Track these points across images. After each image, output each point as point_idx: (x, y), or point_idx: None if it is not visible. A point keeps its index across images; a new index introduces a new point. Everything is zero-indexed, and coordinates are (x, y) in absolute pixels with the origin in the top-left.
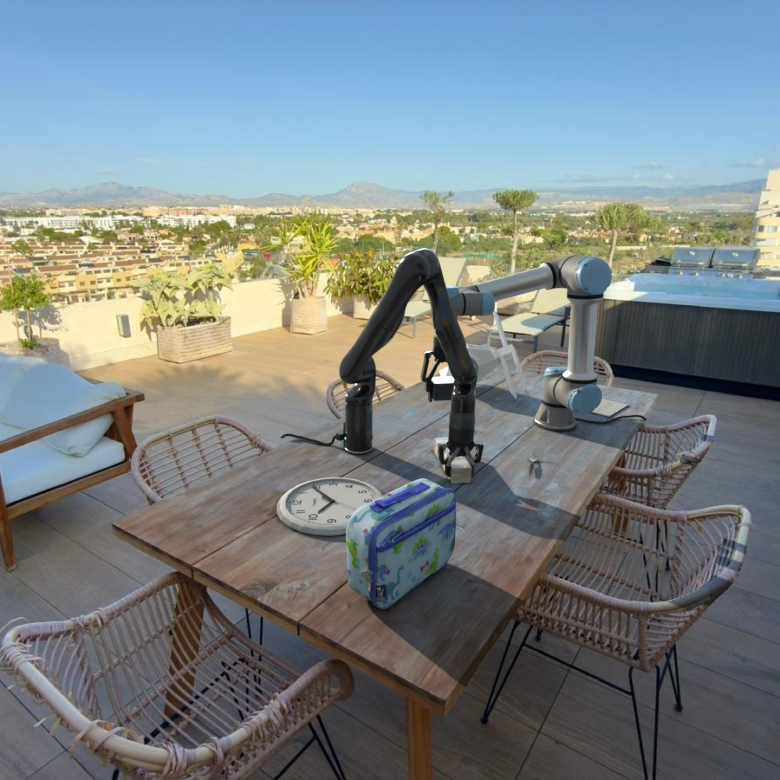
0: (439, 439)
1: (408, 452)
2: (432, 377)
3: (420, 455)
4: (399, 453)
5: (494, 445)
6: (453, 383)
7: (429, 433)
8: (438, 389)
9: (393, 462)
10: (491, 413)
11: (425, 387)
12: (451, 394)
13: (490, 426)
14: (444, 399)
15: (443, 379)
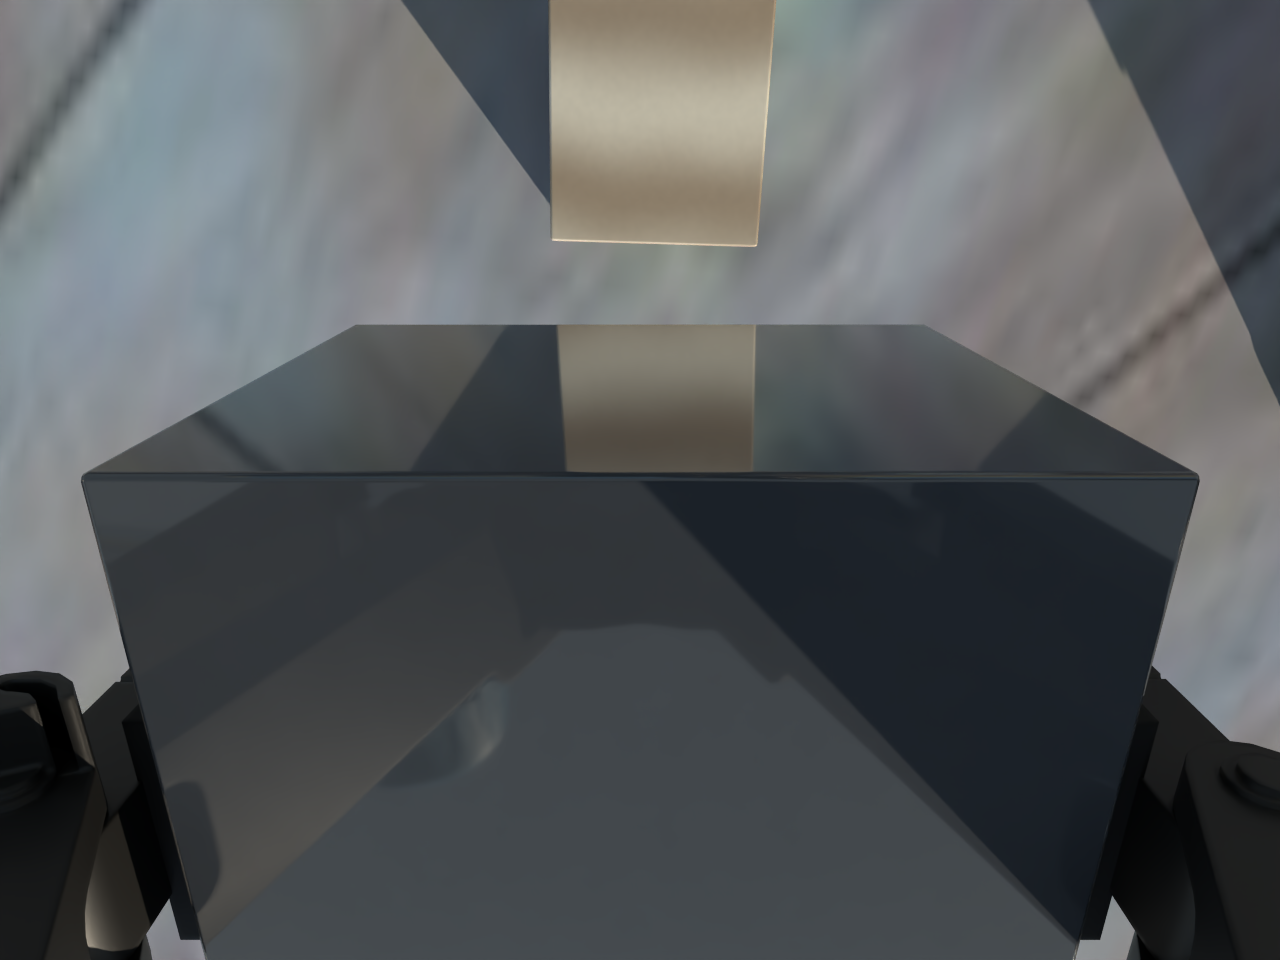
0: (715, 176)
1: (992, 236)
2: (1242, 929)
3: (901, 145)
4: (1087, 224)
5: (105, 288)
6: (311, 464)
7: None
8: (921, 396)
9: (1231, 3)
10: None
11: None
12: (476, 358)
13: (83, 705)
14: (671, 331)
15: (618, 932)
